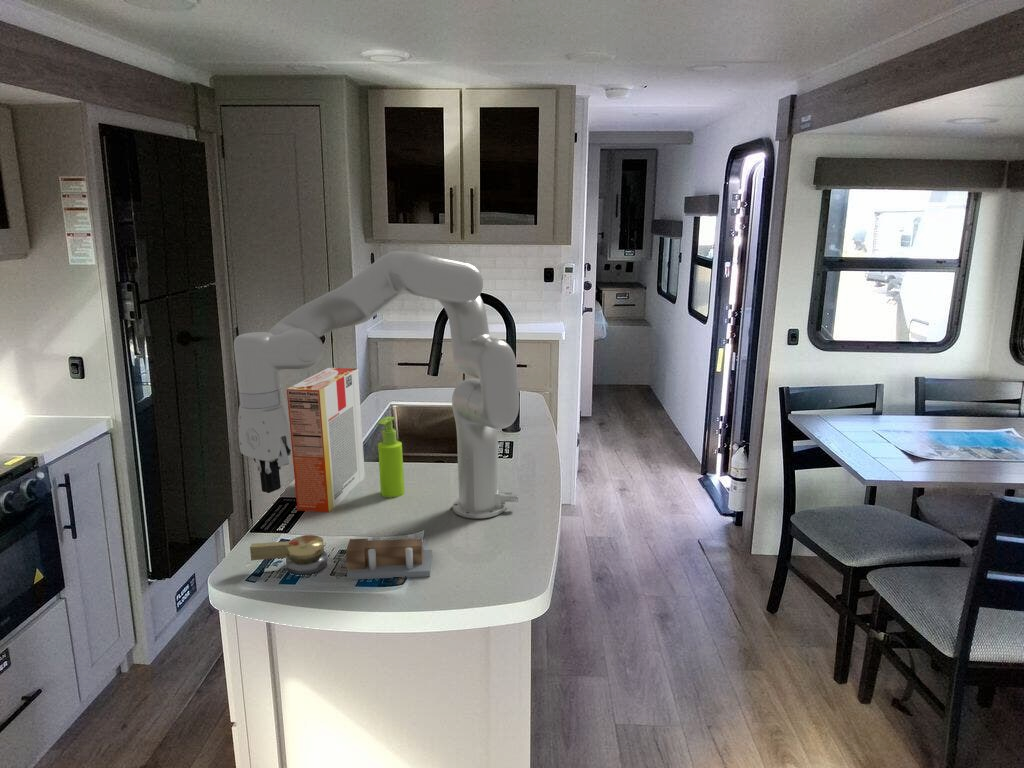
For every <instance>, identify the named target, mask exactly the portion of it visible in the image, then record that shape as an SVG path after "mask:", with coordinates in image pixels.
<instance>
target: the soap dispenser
mask: <svg viewBox="0 0 1024 768" xmlns="http://www.w3.org/2000/svg"><path fill="white" fill-rule="evenodd" d="M395 418H396V417H395V416H389V415H388V416H386V417H382V418H381V419H380V420H379V421H378V422H376V424H377V425H380V426H385V428H384V429H383V430H382V441H381V442H379V443H378V444H377V448H378V449H377V450H378V469H379V470H378V471H379V483H380V484H379V485H380V495H381V496H382V497H383V498H387V497H389V498H392V497H394V498H399V497H401V496H404V494H405V478H404V477H405V476H404V458H403V457H404V456H403V443H402V441H399V440H398V439H397V430H396V429H395V428H394V427H393V421H394V420H395ZM398 496H399V497H398Z"/></svg>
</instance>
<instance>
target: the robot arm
mask: <svg viewBox="0 0 1024 768" xmlns="http://www.w3.org/2000/svg"><path fill="white" fill-rule="evenodd" d="M483 287H484V279H483V276H482V274H481V271H480V270H479V268H477V267H476V266H475V265H473V264H472V263H467V262H464V261H461V260H459V261H458V260H454V259H449V258H444V257H440V256H435V255H431V254H427V253H422V252H418V251H409V250H408V251H407V250H406V251H405V250H393V251H390V252H388V253H386V254H384V255H382V256H381V257H379V258H378V259H377V260H375V261H373V263H371V264H370V265H368V266H367V267H366V268H364V269H363V270H362V271H361V272H358V273H357V274H356V275H354V276H353V277H352V278H350V279H349V280H348V281H346V282H345V283H343V284H342V285H340V286H339V287H337V288H336V289H335V288H334V289H333V290H331V291H328V292H327V293H325V294H322V295H321V296H319V297H316V298H315V299H313V300H311V301H309V302H306V303H305V304H303V305H301V306H299V307H297V308H296V309H295V310H294V311H292V312H291V313H289V314H288V315H286V316H285V317H284V318H282V319H281V320H280V321H278V322H277V323H276V324H275V325H273V326H272V327H271V329H270V330H269V331H268V332H266V331H256V332H255V331H254V332H246V333H242V334H239V335H237V336H236V337H235V338H234V341H233V349H234V351H233V352H234V358H235V359H234V360H235V366H236V367H235V368H236V376H237V384H238V392H239V393H238V394H239V395H238V396H239V401H240V402H239V403H240V405H239V406H238V415H237V418H238V419H237V425H238V427H237V429H238V444H239V450H240V451H239V452H240V454H242V455H243V456H246V457H248V458H250V459H252V461H254V463H255V464H256V469H257V471H258V472H259V476H260V485H261V491H262V492H263V493H267V494H270V493H273V492H275V491H278V490H280V489H281V488H282V485H281V478H280V477H281V476H280V470H282V467H285V466H287V465H289V464H290V460H289V456H290V455H291V454H292V444H291V433H290V424H289V419H288V417H287V413H286V410H285V409H286V408H285V407H284V400H283V399H284V398H283V390H282V389H283V388H282V380H281V371H280V370H306V369H310V368H312V367H314V366H316V365H317V364H318V363H319V362H320V361H321V359H323V355H324V344H323V342H322V339H321V337H323V336H324V335H326V334H328V333H330V332H333V331H335V330H339V329H342V328H347V327H348V328H349V327H354V326H358V325H360V324H361V325H362V324H364V323H365V322H368V321H369V320H371V319H373V317H375V316H376V315H377V314H379V313H381V311H383V310H384V309H385V308H387V306H389V305H391V304H392V303H393V302H394V301H396V300H397V299H398V298H400V297H402V296H403V295H405V294H406V295H411V296H417V297H422V298H427V299H431V300H436V301H438V302H439V303H440V304H441V306H442V307H443V308H444V311H445V313H446V315H447V319H448V324H449V328H450V331H449V332H450V338H451V349H452V359H453V363H454V366H455V368H456V369H457V370H458V371H459V372H461V373H462V374H464V375H467V376H470V377H473V378H467V379H464V380H462V381H461V382H459V383H458V384H457V385H456V387H455V388H454V390H453V393H452V397H451V405H452V406H451V408H452V412H453V416H454V421H455V428H456V441H457V442H456V444H457V447H456V448H457V474H458V475H457V477H458V481H457V482H458V498H457V499H456V500H454V502H453V503H452V510H453V513H454V514H456V515H457V516H460V517H462V518H467V519H475V520H476V519H488V518H492V517H496V516H498V515H500V514H502V513H503V512H505V510H506V503H519V494H518V493H513V491H512V490H511V491H509V490H507V491H503V490H501V486H500V485H499V484H500V483H499V482H500V481H499V479H500V477H499V437H498V430H502V429H503V430H504V429H507V428H509V427H511V425H513V424H514V422H515V421H516V419H517V418H518V415H519V410H520V392H519V390H520V389H519V379H518V367H517V360H516V359H517V358H516V355H515V353H514V350H513V349H512V347H511V346H510V344H508V343H507V342H506V341H505V340H502V339H500V338H497V337H493V336H491V335H490V330H489V323H488V317H487V310H486V306H485V304H484V301H483V299H482V296H481V293H482V291H483Z"/></svg>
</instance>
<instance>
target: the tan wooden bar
mask: <svg viewBox="0 0 1024 768" xmlns="http://www.w3.org/2000/svg"><path fill="white" fill-rule="evenodd" d="M408 547H410V548H412V550H413V565H416V564H422V561H423V550H424V549H423V548H424V547H423V538H415V539H408V538H404V539H381V540H380V539H379V540H372V539H371V540H369V538H368V537H367V538H350V539H349V540H348V543H347V546H346V548H345V560H346V570H347V571H348V570H351V569H366V566H369V556H368V550H369V549H375V551H376V566H391V565H406V554H405V549H406V548H408Z"/></svg>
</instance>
